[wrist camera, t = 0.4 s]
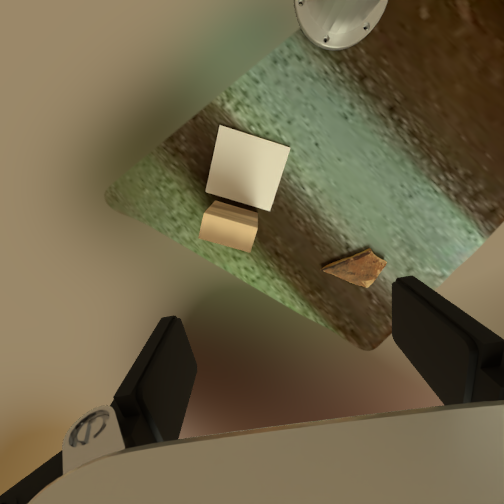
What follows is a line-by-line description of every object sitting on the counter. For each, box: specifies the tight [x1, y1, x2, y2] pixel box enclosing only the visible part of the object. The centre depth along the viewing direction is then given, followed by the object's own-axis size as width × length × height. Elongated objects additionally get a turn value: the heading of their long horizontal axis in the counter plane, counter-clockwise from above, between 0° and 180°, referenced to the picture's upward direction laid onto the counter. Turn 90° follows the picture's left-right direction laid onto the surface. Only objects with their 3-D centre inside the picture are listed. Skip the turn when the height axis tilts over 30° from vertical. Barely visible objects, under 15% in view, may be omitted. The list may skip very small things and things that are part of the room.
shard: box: [321, 248, 387, 287], centre depth 47 cm, size 11×8×2 cm
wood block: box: [199, 200, 258, 252], centre depth 40 cm, size 4×8×10 cm, turn 74°
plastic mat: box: [205, 125, 290, 211], centre depth 41 cm, size 11×12×1 cm
